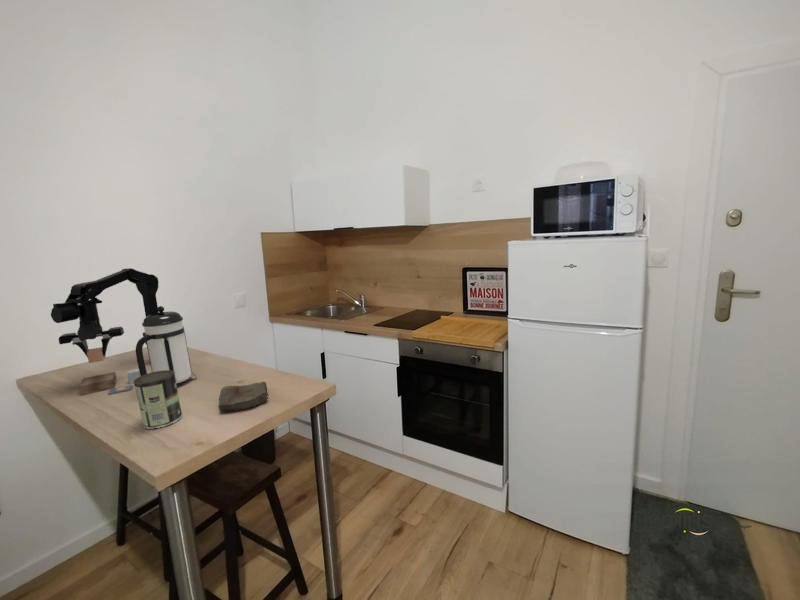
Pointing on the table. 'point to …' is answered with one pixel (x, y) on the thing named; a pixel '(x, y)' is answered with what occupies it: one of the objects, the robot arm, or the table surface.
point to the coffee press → (165, 345)
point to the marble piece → (242, 396)
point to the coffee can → (158, 399)
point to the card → (120, 389)
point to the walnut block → (98, 383)
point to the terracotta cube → (95, 355)
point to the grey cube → (133, 375)
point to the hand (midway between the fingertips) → (96, 356)
